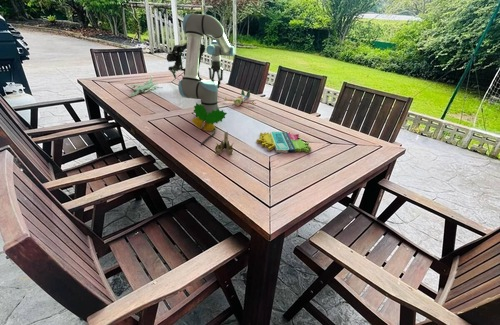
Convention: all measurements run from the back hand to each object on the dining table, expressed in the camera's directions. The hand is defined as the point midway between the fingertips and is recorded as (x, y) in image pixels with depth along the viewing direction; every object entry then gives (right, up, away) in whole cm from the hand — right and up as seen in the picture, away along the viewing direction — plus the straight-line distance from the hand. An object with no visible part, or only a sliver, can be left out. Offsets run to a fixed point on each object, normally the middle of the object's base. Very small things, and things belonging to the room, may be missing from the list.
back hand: (179, 79), depth 238 cm
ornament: (+38, -55, -73) cm, 99 cm away
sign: (+83, -65, -85) cm, 135 cm away
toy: (+57, -25, -17) cm, 64 cm away
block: (+33, -8, -1) cm, 34 cm away
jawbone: (+50, -70, -99) cm, 132 cm away
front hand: (+33, -8, -1) cm, 34 cm away
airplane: (-29, -14, -9) cm, 33 cm away
